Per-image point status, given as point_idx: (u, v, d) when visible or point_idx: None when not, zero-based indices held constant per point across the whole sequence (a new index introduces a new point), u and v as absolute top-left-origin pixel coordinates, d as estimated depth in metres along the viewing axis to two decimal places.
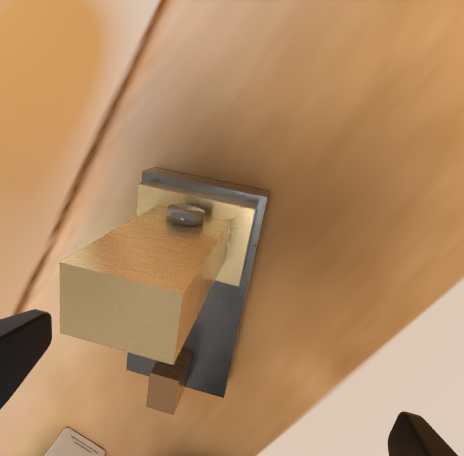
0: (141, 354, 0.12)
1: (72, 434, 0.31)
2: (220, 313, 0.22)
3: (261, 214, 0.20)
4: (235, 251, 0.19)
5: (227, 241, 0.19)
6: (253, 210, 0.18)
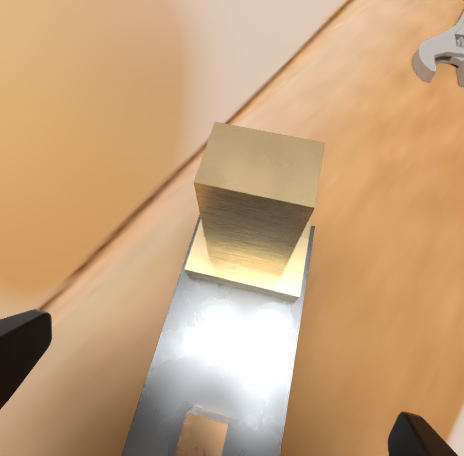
0: (280, 198, 0.12)
1: None
2: (269, 351, 0.19)
3: (310, 240, 0.22)
4: (294, 258, 0.20)
5: None
6: (310, 222, 0.21)
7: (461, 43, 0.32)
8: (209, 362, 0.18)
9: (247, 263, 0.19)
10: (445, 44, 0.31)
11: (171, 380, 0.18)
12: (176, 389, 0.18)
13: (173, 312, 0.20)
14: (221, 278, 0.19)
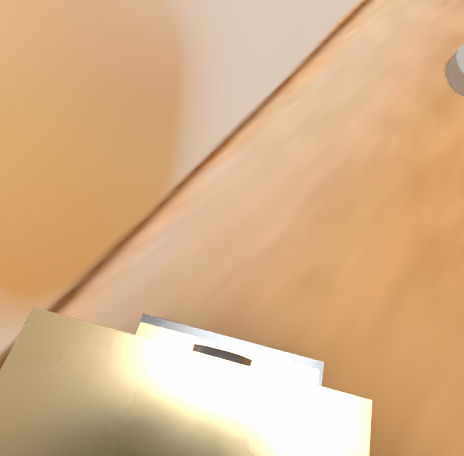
0: None
1: None
2: None
3: None
4: None
5: None
6: (317, 371, 0.12)
7: None
8: None
9: None
10: None
11: None
12: None
13: None
14: None
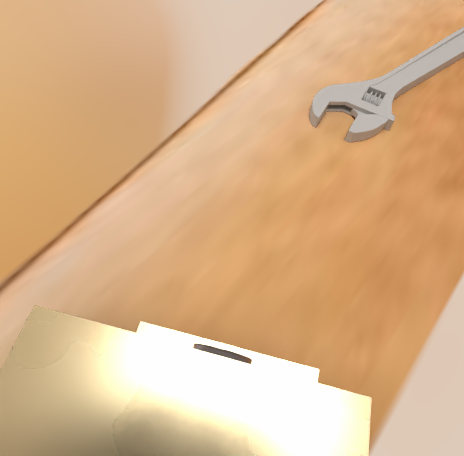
0: None
1: None
2: None
3: None
4: None
5: None
6: (317, 371, 0.12)
7: (368, 97, 0.29)
8: None
9: None
10: (350, 94, 0.29)
11: None
12: None
13: None
14: None
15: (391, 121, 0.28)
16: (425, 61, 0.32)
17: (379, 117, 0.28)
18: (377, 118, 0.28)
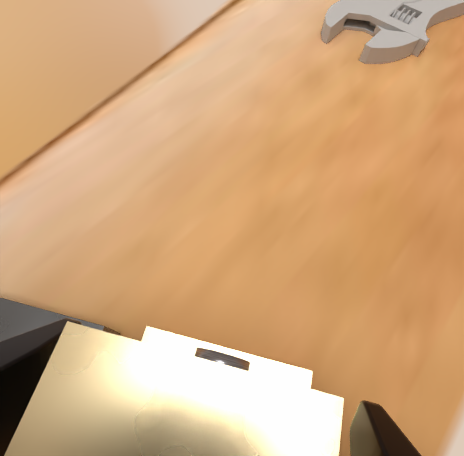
0: None
1: None
2: None
3: None
4: None
5: None
6: (310, 372, 0.13)
7: (399, 14, 0.23)
8: None
9: None
10: (376, 8, 0.24)
11: None
12: None
13: None
14: None
15: (423, 42, 0.22)
16: None
17: (408, 35, 0.22)
18: (405, 36, 0.22)
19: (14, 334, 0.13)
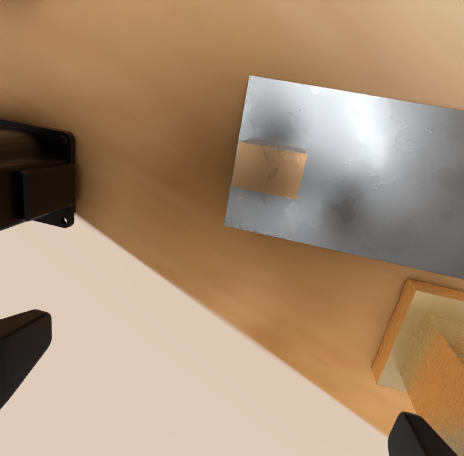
0: None
1: None
2: (359, 229, 0.17)
3: None
4: None
5: None
6: None
7: None
8: (350, 163, 0.16)
9: (416, 354, 0.19)
10: None
11: (331, 120, 0.16)
12: (322, 128, 0.16)
13: (415, 110, 0.15)
14: (401, 322, 0.19)
15: None
16: None
17: None
18: None
19: None
